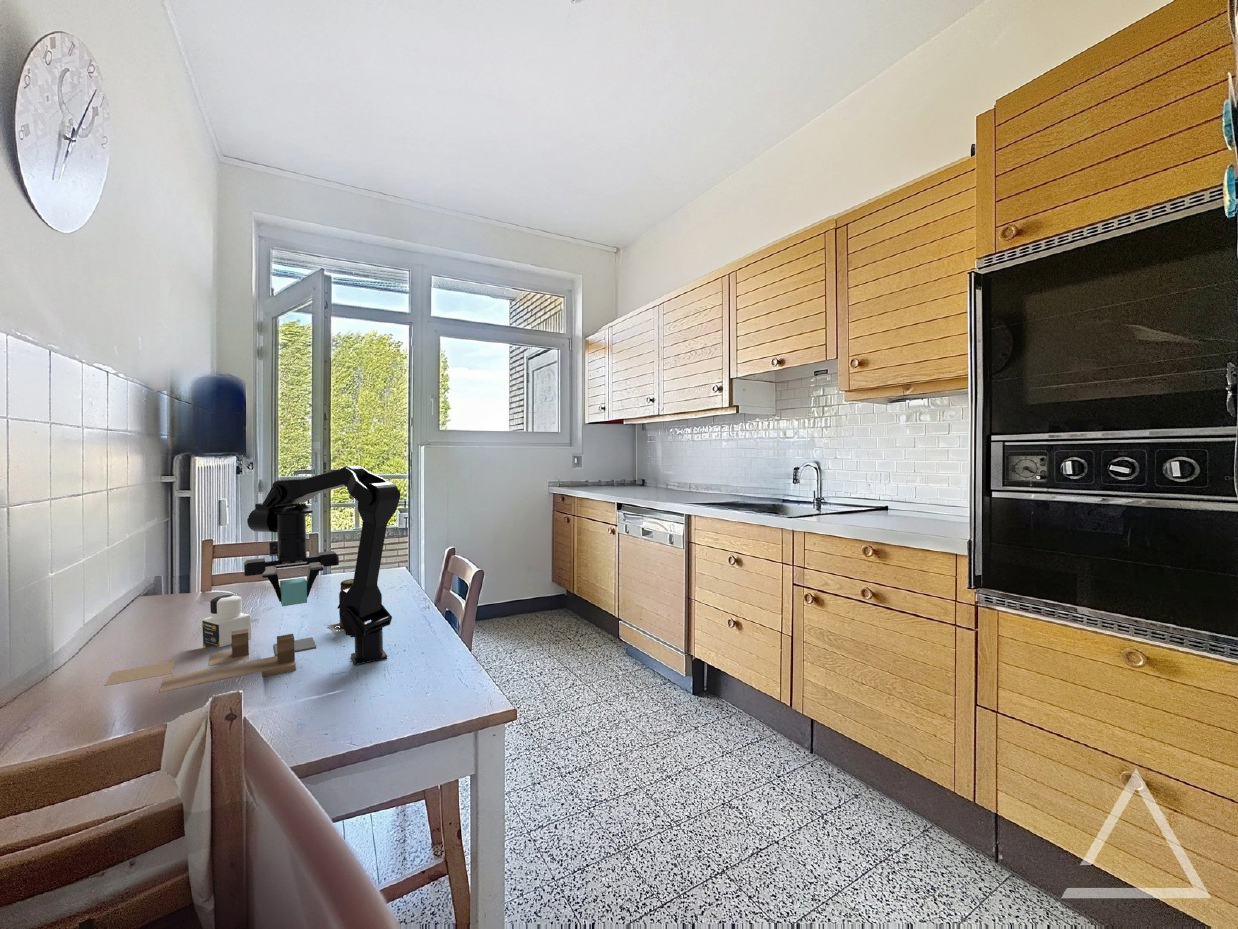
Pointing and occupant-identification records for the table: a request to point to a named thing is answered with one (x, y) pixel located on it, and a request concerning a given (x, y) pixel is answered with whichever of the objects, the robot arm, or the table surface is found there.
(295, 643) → the coaster
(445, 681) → the table surface
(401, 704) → the table surface
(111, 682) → the board
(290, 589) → the cube
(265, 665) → the strip
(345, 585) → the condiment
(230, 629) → the medicine bottle
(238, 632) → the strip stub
